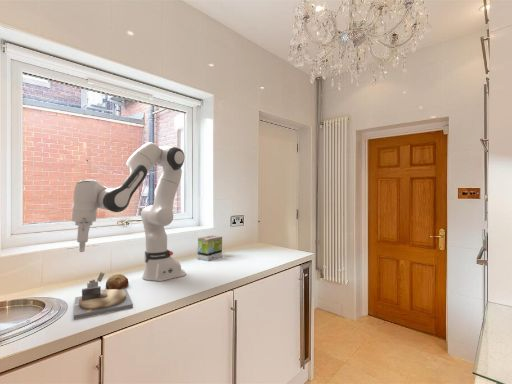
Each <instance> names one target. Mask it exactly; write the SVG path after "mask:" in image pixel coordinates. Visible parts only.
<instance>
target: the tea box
mask: <svg viewBox="0 0 512 384" xmlns="http://www.w3.org/2000/svg"><path fill="white" fill-rule="evenodd" d="M222 257H223V236H219V235H208V236H203V237H198V238H197V257H196V258H197V260H200V261H204V262H209V261H212V260H216V259H219V258H222Z"/></svg>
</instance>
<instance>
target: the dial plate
mask: <svg viewBox="0 0 512 384" xmlns="http://www.w3.org/2000/svg"><path fill="white" fill-rule="evenodd" d="M122 290H123V291H125V292H126V298H125V299H124V300H123V301H122V302H120V303H118V304H116V305H113V306H109V307H105V308H98V309H86V308H82V307H80V306H79V299H80V298H81V297H82V295H81V296H75V298H74V308H73V309H74V310H73V320H78V319H83V318H88V317H94V316H98V315H105V314H108V313H113V312H119V311H123V310H128V309H133V306H134V304H133V302H132V299H131V296H130V294H129V292H128V289H127V288H123V289H122Z"/></svg>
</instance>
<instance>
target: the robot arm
mask: <svg viewBox="0 0 512 384" xmlns="http://www.w3.org/2000/svg"><path fill="white" fill-rule="evenodd" d="M184 163H185V153H184V150H183V149H181V148H179V147H177V146H168V145H166V146H159V145H158V144H156V143H154V142H151V141H150V142H146V143H144V144H143V145H142V146H140V147H139V148H138V149H137V150H136V151H134V152H133V153H132V154H131V155H130V157H129V158H128V159H127V161H126V168H127V170H128V172H129V175H128V176H127V178H125V180H124V181H123V182H122V183H121V185H120V186H117V187H116V188H109V187H107V186H105V185H102V184H101V183H99V182H98V181H97V180H96V179H83V180H82V179H81V180H78V181H77V182H76V184H75V187H74V190H73V207H72V215H71V221H72V222H74V223H75V226H77V237H76V239H77V240H76V242H77V243H78V244H79V248H78V249H79V253H84V252H85V250H86V249H85V246H86V243H88V241H89V231H90V227H91V226H93V223H94V222H96V221H97V210H98V208H99V209H101V210H106V211H110V212H112V213H121V212H124V210H126V209H127V208H128V206H129V204H130V202H131V199H132V197H133V195H134V193H135V192H136V191H137V189H139V187H140V186H141V184H142V183H143V182H144V180H145V179H146V177H147V175H148V173H149V172H150V170H151V169H153V167H154V166H160V167H162V171H161V174H160V177H159V179H158V181H157V184H156V187H155V189H154V193H153V195H154V200H153V204H150V205H147V206H144V208H142V210H141V212H140V217H141V220H142V223H143V224H142V225H143V228H144V229H143V230H144V235H145V251H144V263H145V265H144V270H143V275H142V279H143V280H145V281H155V282H162V281H167V280H172V279H175V278H176V279H177V278H181V277H184V276H185V275H186V271H185V270H184V269H182V265H181V263H180V262H179V261H178V260H176V259H175V258H174V257H172V256H173V255H174V252H173V251H172V250H169V249H168V235H167V233H166V230H165V227H166V226H169V225H170V224H171V223H172V222H173V220H174V211H173V209H174V201H175V197H176V194H177V191H178V188H179V186H180V183H181V179H182V175H183V172H182V171H183V170H182V167H183V165H184Z"/></svg>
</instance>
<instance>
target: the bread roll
mask: <svg viewBox="0 0 512 384" xmlns="http://www.w3.org/2000/svg"><path fill="white" fill-rule="evenodd" d="M129 283H130V282H129V279H128V277H127V276H126V275H124V274H120V273H119V274H112V275H111V276H110V277H108V278H107V280H106V282H105V290H108V289H118V290H123V289H127V287H128V286H129Z"/></svg>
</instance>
